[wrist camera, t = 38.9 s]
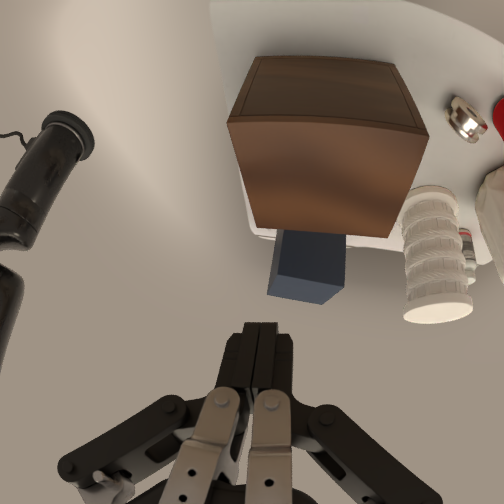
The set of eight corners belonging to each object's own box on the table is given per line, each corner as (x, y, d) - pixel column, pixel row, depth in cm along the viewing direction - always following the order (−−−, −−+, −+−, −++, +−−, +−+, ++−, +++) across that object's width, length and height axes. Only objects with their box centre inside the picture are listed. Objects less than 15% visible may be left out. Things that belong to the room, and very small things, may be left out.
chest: (378, 153, 32) (388, 228, 27) (271, 146, 36) (256, 217, 31) (394, 64, 20) (426, 129, 15) (255, 56, 24) (228, 116, 19)
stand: (277, 225, 53) (266, 294, 47) (288, 194, 44) (277, 274, 38) (327, 236, 53) (322, 304, 47) (346, 208, 44) (344, 287, 38)
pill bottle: (454, 244, 46) (459, 289, 42) (442, 235, 44) (449, 282, 40) (474, 235, 41) (482, 281, 37) (464, 224, 40) (473, 273, 36)
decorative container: (404, 181, 36) (417, 300, 28) (466, 190, 33) (489, 302, 25) (388, 224, 46) (391, 323, 38) (443, 229, 43) (453, 324, 35)
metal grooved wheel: (477, 110, 21) (493, 136, 19) (465, 125, 23) (479, 152, 21) (448, 90, 20) (464, 115, 18) (437, 107, 23) (450, 133, 21)
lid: (387, 232, 28) (387, 238, 28) (257, 221, 31) (256, 227, 31) (427, 129, 15) (429, 136, 15) (228, 116, 19) (225, 122, 18)
